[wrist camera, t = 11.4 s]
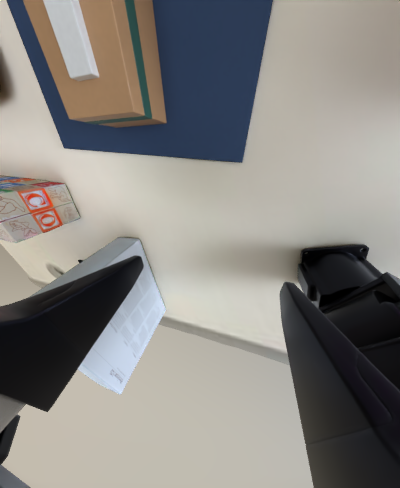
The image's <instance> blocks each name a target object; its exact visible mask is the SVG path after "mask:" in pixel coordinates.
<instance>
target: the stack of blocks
mask: <svg viewBox="0 0 400 488" xmlns="http://www.w3.org/2000/svg"><path fill="white" fill-rule="evenodd" d="M79 218H80V217H79V214H78V212H77V210H76V208H75V205H74V203H73V201H72V198H71V196H70V194H69V192H68V190H67V187H66V185H65V184H64V183H55V182H50V181H43V180H35V179H28V178H17V177H8V176H0V240H6V241H10V242H14V243H18V242H20V241H23V240H26V239H28V238H30V237H33V236H36V235H38V234H40V233H45V232H48V231H50V230H53V229H55V228H57V227H60V226H62V225H64V224H67V223H69V222H72V221H74V220H77V219H79Z"/></svg>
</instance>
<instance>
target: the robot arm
mask: <svg viewBox="0 0 400 488" xmlns="http://www.w3.org/2000/svg"><path fill="white" fill-rule="evenodd" d="M362 248H363V249H362ZM361 249H362V250H361ZM368 251H369V248H368V247H367V246H366V245H350V246H337V247H325V248H313V249H304V250H302V252H301V263H299V264H298V280H299V283H300V285H301V287H302V290H303V292H304V293H303V292H302V291H301V290H300V289H299V288H298V287H297V286H296V285H295V284H294V283H291V282H284V284H283V286H282V289H281V291H280V306H281V319H282V327H283V332H284V337H285V342H286V347H287V352H288V357H289V362H290V368H291V373H292V377H293V383H294V388H295V393H296V398H297V403H298V408H299V413H300V419H301V424H302V429H303V434H304V439H305V444H306V450H307V455H308V459H309V465H310V470H311V475H312V480H313V485H314V488H400V279H399V278H397V277H395V276H393V275H392V274H390V273H388V272H386V273H384V274H382V273H381V272H379V271H378V270H377V269H376V268H375V267H374V266H373V265H372V264H371V263H369V262H368V261H367V260H366V257H367V254H368ZM306 252H308V253H307V254H305V253H306ZM143 268H144V264H143V260H142V257H141V256H137V255H134V256H132V257H129V258H127V259H125V260H122V261H120V262H117V263H115V264H112V265H110V266H108V267H105V268H103V269H100V270H98V271H95V272H93V273H91V274H88V275H86V276H83V277H81V278H78V279H76V280H73V281H71V282H69V283H66V284H64V285H61V286H59V287H56V288H53V289H51V290H48V291H45V292H43V293H40V294H37V295H34V296H32V297H29V298H26V299H23V300H21V301H18V302H15V303H12V304H9V305H5V306H1V307H0V488H30V487H29V486H27V485H26V484H25V483H24V482H22V481H21V480H20V479H19V478H17V477H16V476H15V475H13V474H12V473H11V472H9V471H8V470H7V469H6V468H4V467H3V466H2V465H1V464H2V463H3V461H4V460H5V459H6V458H7V456H8V454H9V451H10V447H11V444H12V441H13V438H14V435H15V432H16V428H17V426H18V422H19V419H20V416H19V415H18V412H19V411H20V410H21V409H22V408H23V407H24V406H25V405H26V404H28V405H30V406H33V407H36V408H38V409H41V410H43V411H46V412H48V411H49V410H50V408H51V407H52V406H53V404H54V403H55V401H56V400H57V398H58V397H59V395H60V394H61V392H62V391H63V390H64V388H65V387H66V385H67V384H68V382H69V381H70V379H71V378H72V376H73V375H74V373H75V372H76V370H77V369H78V368H79V366H80V365H81V363H82V362H83V360H84V359H85V357H86V355H87V354H88V353H89V351H90V350H91V348H92V347H93V345H94V344H95V342H96V341H97V340H98V338H99V337H100V335H101V334H102V332H103V331H104V329H105V328H106V326H107V325H108V323H109V322H110V320H111V319H112V317H113V316H114V315H115V313H116V312H117V310H118V309H119V307H120V306H121V304H122V303H123V301H124V300H125V298H126V297H127V295H128V294H129V293H130V291H131V290H132V288H133V286H134V285H135V283H136V281H137V279H138V277H139V276H140V274H141V272H142V270H143ZM311 301H312V302H313V303H312V302H311Z"/></svg>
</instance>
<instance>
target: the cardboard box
mask: <svg viewBox="0 0 400 488" xmlns="http://www.w3.org/2000/svg"><path fill="white" fill-rule="evenodd" d="M23 2H24V5H25V7H26V10H27V12H28V15H29V17H30V20H31V22H32V25H33V28H34V30H35V33H36V35H37V38H38V40H39V43H40V45H41V48H42V50H43V53H44V56H45V58H46V61H47V63H48V66H49V68H50V71H51V73H52V76H53V78H54V81H55V84H56V86H57V89H58V91H59V94H60V96H61V99H62V101H63V104H64V107H65V109H66V112H67V114H68V117H69V119H71V120H77V121H82V122H85V123H89V124H99V125H105V126H111V127H116V128H118V127H130V126H142V125H154V124H166V123H167V121H166V113H165V104H164V96H163V87H162V78H161V70H160V61H159V53H158V44H157V36H156V27H155V19H154V10H153V2H152V0H23Z"/></svg>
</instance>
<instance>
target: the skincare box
mask: <svg viewBox="0 0 400 488" xmlns="http://www.w3.org/2000/svg"><path fill="white" fill-rule="evenodd" d="M134 255H137V256H141V257H142V260H143V264H144V268H143V270H142V272H141V274H140V276H139V277H138V279H137V281H136V283H135V285H134V286H133V288H132V290H131V291H130V293H129V294H128V295H127V297H126V298H125V300H124V301H123V303H122V304H121V306H120V307H119V309H118V310H117V312H116V313H115V315H114V316H113V317H112V319H111V320H110V322H109V323H108V325H107V326H106V328H105V329H104V331H103V332H102V334H101V335H100V337H99V338H98V340H97V341H96V342H95V344H94V345H93V347H92V348H91V350H90V351H89V353H88V354H87V355H86V357H85V359H84V360H83V362H82V363H81V365H80V366H79V368H78V370H79V371H81V372H82V373H84V374H85V375H86V376H88V377H89V378H91V379H92V380H94V381H95V382H96V383H98V384H99V385H101V386H103V387H105V388H108V389H110V390H112V391H114V392H116V393H118V394H121V393H122V391H123V389H124V387H125V385H126V383H127V382H128V380H129V378H130V376H131V374H132V372H133V370H134V368H135V366H136V365H137V363H138V361H139V359H140V357H141V355H142V354H143V352H144V350H145V348H146V346H147V344H148V342H149V340H150V339H151V337H152V335H153V333H154V331H155V329H156V327H157V325H158V324H159V322H160V320H161V318H162V316H163V315H164V313H165V311H166V309H165V306H164V303H163V301H162V298H161V295H160V293H159V290H158V287H157V285H156V282H155V279H154V277H153V274H152V271H151V269H150V266H149V263H148V261H147V258H146V255H145V253H144V250H143V247H142V245H141V242H140V240H139V239H134V238H117V239H115V240H114V241H112V242H111V243H109V244H108V245H106V246H105V247H103V248H102V249H100V250H99V251H97V252H96V253H94V254H93V255H91V256H90V257H88V258H87V259H85V260H84V261H83V262H81V263H80V264H78V265H76V266H75V267H73V268H72V269H70V270H69V271H68V272H66V273H65V274H63V275H62V276H60V277H59V278H57V279H56V280H54V281H53V282H51V283H50V284H48V285H47V286H45V287H44V288H42V289H41V290H39V291H38V292H36V293H35V294H33V295H32V296H34V295H37V294H40V293H43V292H45V291H48V290H51V289H53V288H56V287H59V286H61V285H64V284H66V283H69V282H71V281H73V280H76V279H78V278H81V277H83V276H86V275H88V274H91V273H93V272H95V271H98V270H100V269H103V268H105V267H108V266H110V265H112V264H115V263H117V262H120V261H122V260H125V259H127V258H129V257H132V256H134ZM32 296H30V297H32Z"/></svg>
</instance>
